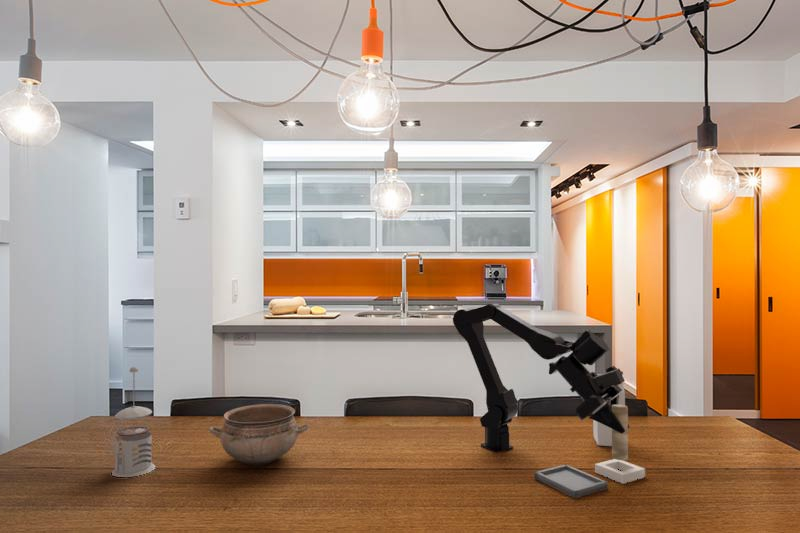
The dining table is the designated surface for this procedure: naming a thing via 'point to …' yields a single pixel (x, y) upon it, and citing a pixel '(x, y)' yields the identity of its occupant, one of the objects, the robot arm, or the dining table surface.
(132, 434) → the french press
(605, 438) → the milk carton
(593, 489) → the tray
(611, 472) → the socket
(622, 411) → the dowel
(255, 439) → the cooking pot
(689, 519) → the dining table surface
